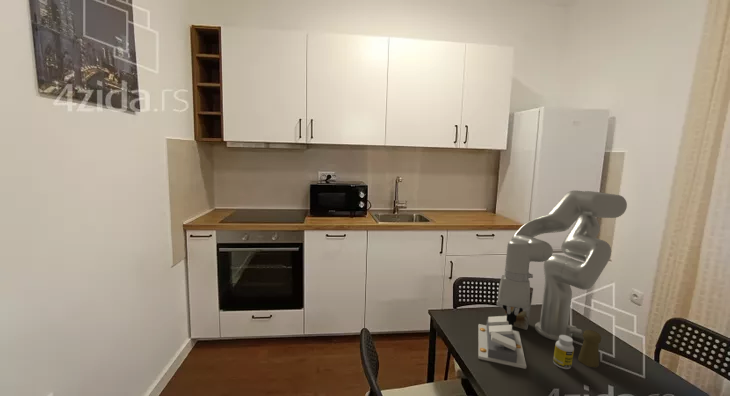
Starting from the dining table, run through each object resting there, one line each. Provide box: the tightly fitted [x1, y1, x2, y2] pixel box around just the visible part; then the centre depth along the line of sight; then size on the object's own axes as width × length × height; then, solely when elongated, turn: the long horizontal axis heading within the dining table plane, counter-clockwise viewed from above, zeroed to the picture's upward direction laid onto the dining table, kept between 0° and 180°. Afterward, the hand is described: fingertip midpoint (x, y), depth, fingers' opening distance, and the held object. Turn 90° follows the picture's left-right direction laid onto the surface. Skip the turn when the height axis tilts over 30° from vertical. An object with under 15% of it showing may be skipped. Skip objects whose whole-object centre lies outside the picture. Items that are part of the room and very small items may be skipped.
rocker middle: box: [489, 325, 514, 335], centre depth 122 cm, size 8×4×2 cm, turn 71°
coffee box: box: [504, 286, 534, 331], centre depth 137 cm, size 9×6×16 cm
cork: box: [577, 329, 602, 368], centre depth 114 cm, size 6×6×11 cm
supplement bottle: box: [552, 335, 575, 370], centre depth 112 cm, size 5×5×10 cm
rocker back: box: [487, 315, 509, 325], centre depth 128 cm, size 8×4×2 cm, turn 71°
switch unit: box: [477, 318, 527, 370], centre depth 122 cm, size 15×22×4 cm
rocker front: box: [491, 331, 516, 351], centre depth 115 cm, size 8×4×2 cm, turn 72°
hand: (510, 323), depth 120 cm, fingers closed
